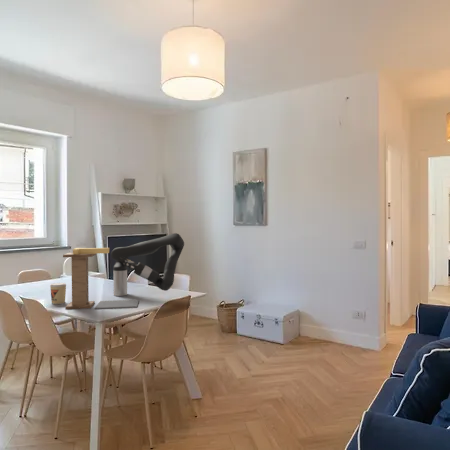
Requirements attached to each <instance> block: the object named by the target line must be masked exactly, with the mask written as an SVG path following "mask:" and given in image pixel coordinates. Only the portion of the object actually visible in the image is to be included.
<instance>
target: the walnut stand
mask: <svg viewBox="0 0 450 450" xmlns="http://www.w3.org/2000/svg"><path fill="white" fill-rule="evenodd" d="M96 255H97V253H95V254H73V252H67V253H64V254H63V255H62V258H71V301H70V302H69V303H68V304H66V306H65V310H79V309H80V310H82V309H83V310H84V309H85V310H86V309H91V308H92V307H93V306H94V305H95V300H89V258H92V257H93V256H96Z"/></svg>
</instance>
